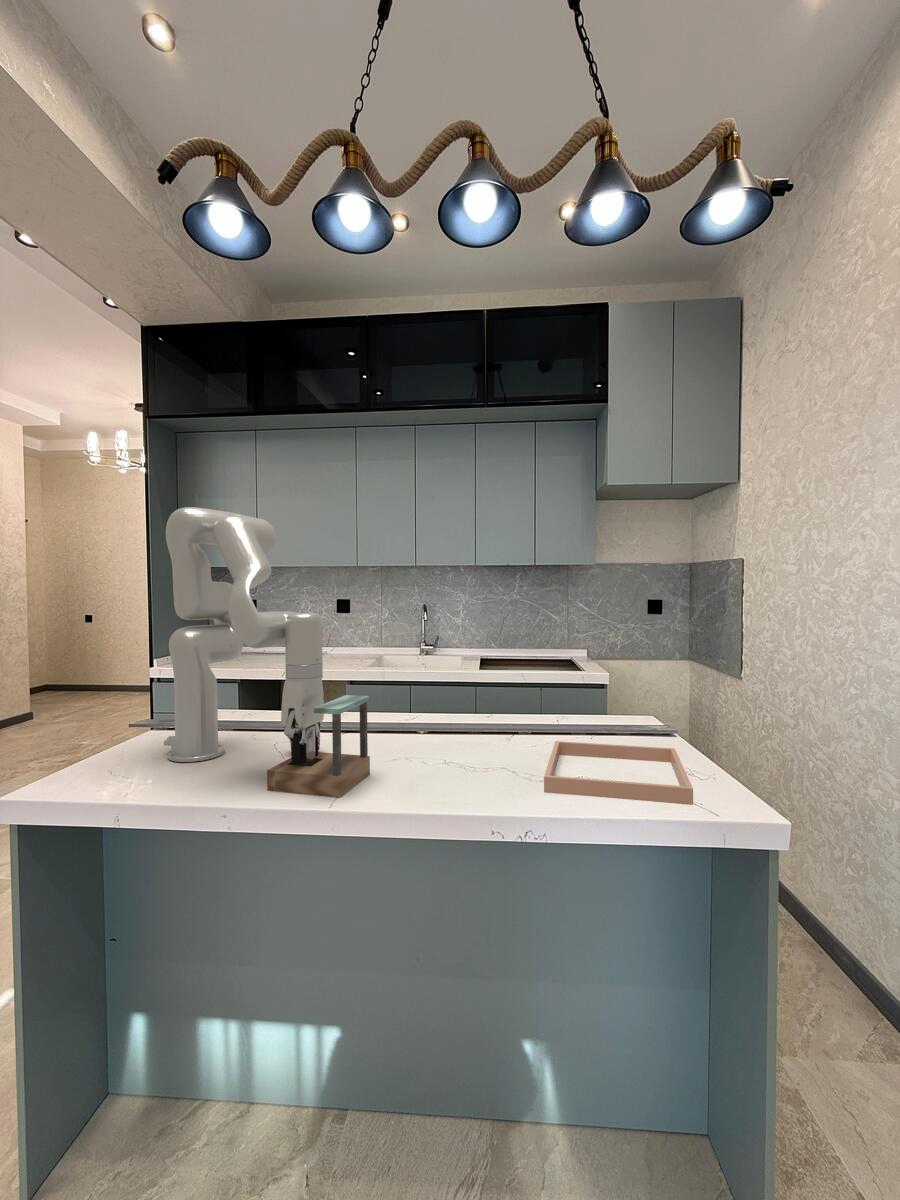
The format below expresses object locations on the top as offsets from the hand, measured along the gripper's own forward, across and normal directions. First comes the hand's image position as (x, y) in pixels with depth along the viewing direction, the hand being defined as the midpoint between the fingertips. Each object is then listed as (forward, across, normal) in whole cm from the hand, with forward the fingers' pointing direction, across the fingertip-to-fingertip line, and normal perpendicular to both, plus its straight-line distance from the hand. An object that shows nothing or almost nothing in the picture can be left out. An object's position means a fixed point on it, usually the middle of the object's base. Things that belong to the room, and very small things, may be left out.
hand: (305, 758), depth 116 cm
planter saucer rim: (+5, -19, +63) cm, 66 cm away
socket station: (+5, 0, +4) cm, 6 cm away
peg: (+3, 0, 0) cm, 3 cm away
